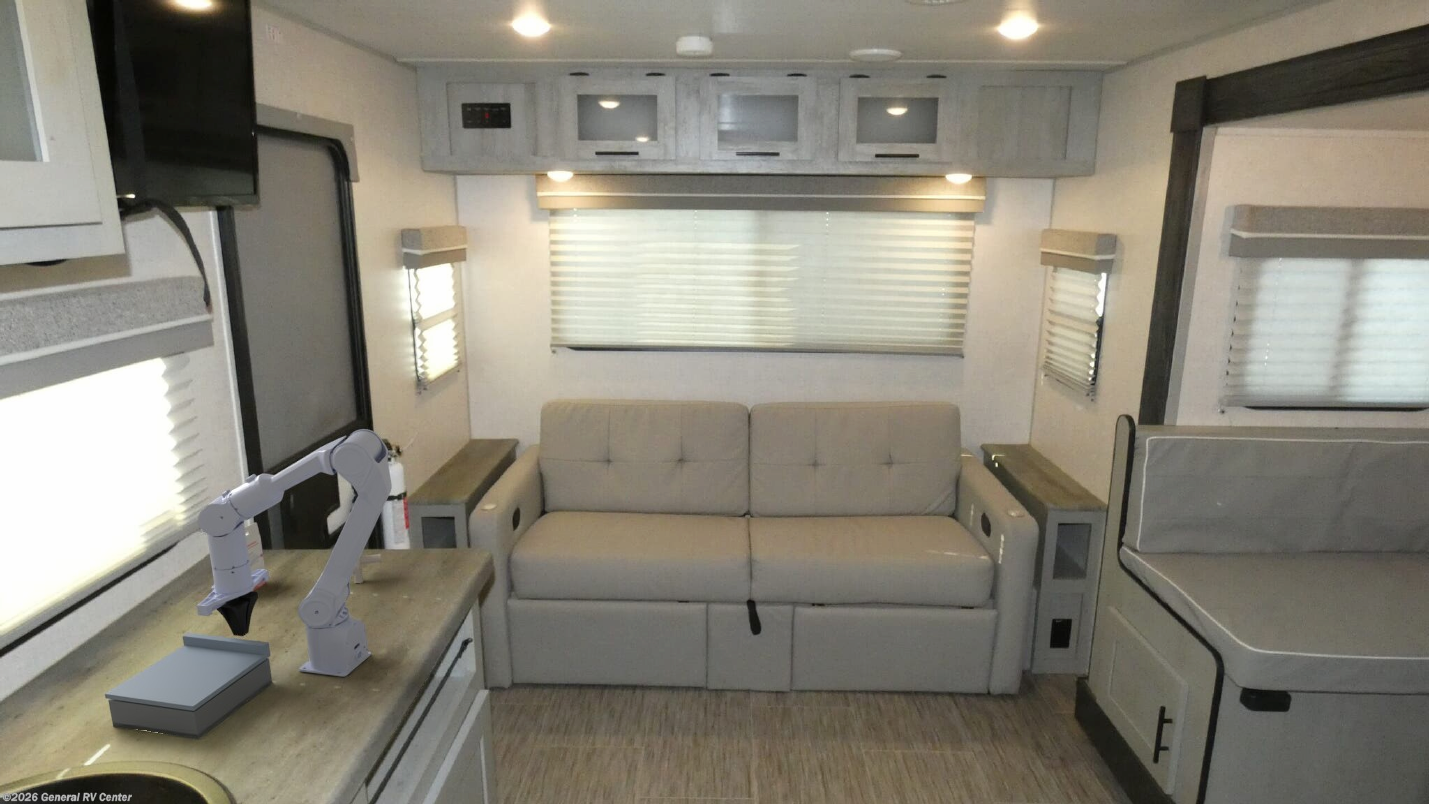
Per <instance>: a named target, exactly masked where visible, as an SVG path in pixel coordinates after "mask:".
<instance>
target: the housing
mask: <svg viewBox="0 0 1429 804" xmlns="http://www.w3.org/2000/svg"><path fill="white" fill-rule="evenodd" d="M272 678H273V677H272V671H271V663H270V657H268V658H267V659H266V660H264V661H263V662H261V663H260V664H259V665H257V666H256V667H254V668H253V669H252V670H250V671H249V672H247V673H246V674H245V675H243V676H242V677H240V678H239V679H238V680H236V681H235V682H233V683H232V684H231V685H229V686H228V687H227V688H225V689H224V690H222V691H221V692H220V693H218V694H217V695H215V696H214V697H213V698H211V699H210V700H208V701H207V702H206V703H204V704H203V705H201V706H200V707H199V708H197V709H196V710H194V711H191V710H184V709H177V708H170V707H163V706H156V705H149V704H142V703H135V702H127V701H120V700H113V699H108V700H107V701H108V706H109V712H110V716H111V722H112V723H111V724H112V726H113V727H114V728H121V729H126V728H127V730H132V729H138V730H137V731H139V730H147V731H151V732H150V733H152V732H158V733H157V734H159V733H163V734H162V735H167V736H172V735H173V736H172V737H181V738H186V739H194V740H199V739H201V738H202V737H204V736H206V735H207V734H208V733H209V732H211V730H213V729H214V728H215V727H218V725H219V724H221V723H222V722H224V721H225V720H226V719H228V718H229V717H230V716H231V715H233V714H234V713H235V712H236V711H238V710H240V709H241V708H242V707H243V706H244V705H246V704H247V703H249V702H250V701H251V700H253V698H255V697H257V696H258V695H259V694H260V693H261V692H262V691H264V690H265V689H267V688H268V687H270V686H271V685H272V684H273V679H272Z"/></svg>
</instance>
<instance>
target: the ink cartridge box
mask: <svg viewBox="0 0 1429 804" xmlns="http://www.w3.org/2000/svg"><path fill="white" fill-rule="evenodd" d="M259 530H260V529H259V527H258V523H257V522H253V523H251V524H249V525H246V526H245V533H246V539H247V546H248V553H249V560H250V568H251V573H252V572H254V571H256V570H258V569H264V570H266V568H265V567H266V565H265V559H264V554H263V546H262V539H261V534H260V531H259ZM267 581H268V580H267ZM267 581H265V582H263V581H262V582H261V583H259V584H257V585H256V586H255V588H254V589H253V590H252V591H253V592H255V591H256V590H257V589H260V588H261V587H263V586H264V585H266V584H267V583H268V582H267Z"/></svg>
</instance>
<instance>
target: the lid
mask: <svg viewBox="0 0 1429 804" xmlns="http://www.w3.org/2000/svg"><path fill="white" fill-rule="evenodd" d="M182 642H183V645H182V646H181V647H178V648H177V649H175V650H174V651H172V652H171V653H168V654H166V656H164V657H163V658H160V659H159V660H157V661H156V662H154V663H152V664H151V665H150V666H148V667H146V668H144V669H142V670H141V671H139V672H138V673H136V674H134V676H133V675H132V677H131V676H130V678H128V679H126V680H125V681H123V682H121V683H120V684H118V685H117V686H115V687H114V688H112V689H110V690H109V691H107V692H105V693H104V697H105V699H108V700H109V699H113V700H120V701H127V702H135V703H142V704H149V705H156V706H163V707H170V708H177V709H184V710H191V711H194V710H196V709H197V708H199V707H200V706H201V705H203V704H204V703H206V702H207V701H208V700H210V699H211V698H213V697H214V696H215V695H217V694H218V693H220V692H221V691H222V690H224V689H225V688H227V687H228V686H229V685H231V684H232V683H233V682H235V681H236V680H238V679H239V678H240V677H242V676H243V675H245V674H246V673H247V672H249V671H250V670H252V669H253V668H254V667H256V666H257V665H259V664H260V663H261V662H263V661H264V660H266V659H267V658H270V657H271V650H270V643H269V642H268V641H261V640H253V639H246V638H245V639H243V638H234V637H226V636H218V635H210V634H203V633H202V634H201V633H195V632H187V633H185V634H183V635H182Z"/></svg>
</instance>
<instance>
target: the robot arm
mask: <svg viewBox="0 0 1429 804" xmlns="http://www.w3.org/2000/svg"><path fill="white" fill-rule="evenodd" d="M346 438H347V439H346ZM388 457H389V448H388V447H387V446H386V444H385V443H384V441H383V439H382V437H380V435H379V434H378V433H377V432H375V431H373V430H370V429H367V428H366V429H365V428H362V429H358V430H357V429H356V430H355V431H353V432H352V433H350V434H349V436H347V435H344V436H341V437H339V438H337V439H335V440H333V441H330V442H329V443H326V444H325V445H323V446H320V447H319V448H317V449H315V450H314V451H312V452H310V453H309V454H307V455H306V456H303V458H301V459H299V460H298V461H296V462H294V463H292V464H290V465H289V466H288V467H286V468H284V469H282V470H281V471H279V472H277V473H276V474H269V473H261V474H259V475H256V474H255V473H253V474H252V475H250V476H248V477H246V478H245V483H243V484H241V485H239V486H237V487H236V488H234V489H232V490H230V489H226V490H224V491H223V492H222V493H221V495H220V496H218V497H216V498H215V499H214V500H213V501H211V502H210V503H209V504H207V505H206V506H205V507H204V508H203V509H201V511H200V512H199V513H198V517H197V523H198V525H199V527H200V530H202V531H203V532H204V533H205V534H206V536H207V537H206V539H207V544H208V552H209V558H210V559H209V560H210V564H211V565H210V566H211V571H212V576H213V577H212V578H213V585H212V586H211V592H210V593H208V595H207V596H206V597H205V598H204V600H202V601H200V602H199V603H198V604H196V607H197V608H196V609H197V614H198V616H203V617H210V616H211V615H213V612H214V611H216V610H217V612H218V613H220V615H221V616H222V617H223V619H224V620H225V621H226V623H227V624H228V627H229V628H230V631H231V633H232V634H233V636H234V637H235V636H236V637H237V636H238V637H244V636H246V635H247V634H249V630H250V625H251V618H252V615H253V610H254V607H255V604H256V603H257V600H258V599H259V593H258V591H252V590H253V589H254V588H255V586H256V585H257V584H259V583H261V582H262V581H263V582H265V581H269V580H270V572H269V569H265V570H264V569H258V570H256V571H254V572H252V573H251V568H250V560H249V553H248V546H247V539H246V534H247V532H246V533H245V527H246V526H245V521H248V520H250V519H252V518H254V517H255V516H257V515H259V514H261V513H263V512H265V511H266V510H268V509H270V508H271V507H273V506H275V505H277V504H278V503H281V501H282V500H283V497H284V493H285V491H287V490H288V489H290V488H292V487H295V486H296V485H298V484H300V483H302V482H304V481H306V480H308V479H310V478H311V477H314V476H315V475H317V474H319V473H324V474H327V475H330V476H334V475H335V474H336V473H337V474H338V475H340V476H341V477H342V478H343V479H345V481H346V482H347V483H349V484H350V485H351V486H352V487H353V489H354V490H355V491H356V493H357V497H356V499H355V502H354V504H353V506H352V509H351V511H350V513H349V514H348V516H347V519H346V521H345V524H344V525H343V528H342V530H341V531H340V534H339V536H338V538H337V539H336V540H337V541H336V543H335V545H334V547H333V549H332V551H331V553H330V556H329V558H328V560H327V562H326V564H325V566H324V569H323V571H322V573H321V575H320V576H319V577H318V579H317V581H316V582H315V584H314V585H313V587H312V589H311V590H310V591H309V593H308V594H307V595H306V596H305V597H304V598H303V599H302V600H301V602H300V603H299V605H298V608H297V609H298V610H297V613H298V618H299V619H300V620H301V622H302V623H304V624H305V632H306V640H307V641H306V642H307V649H308V657H309V660H308V661H306V662H305V663H304V664H302V665H301V666H300V667H299V668H298V670H299V672H305V673H311V674H319V675H325V676H326V675H327V676H328V675H329V676H335V677H343V678H344V677H347V676H348V675H349V674H350V673H352V672H354V670H355V669H356V668H358V666H360V665H361V664H362V663H363V662H364V661H365V660H366V659H368V658H369V657H370V656H371V655H372V652H371V651H369V648H368V646H369V645H368V638H367V636H368V635H367V628H366V624H365V623H364V622H363V621H362V620H361V619H357V618H355V617H353V616H352V615H350V611H349V609H348V607H347V606H348V605H347V604H346V601H347V600H348V599H349V597H350V596H351V581H352V578H353V577H354V574H353V571H354V569H355V567H356V565H357V562H358V560H359V558H360V556H361V554H362V552H364V549H365V547H366V545H367V543H368V541H369V539H370V537H371V535H372V533H373V531H374V528H375V527H376V523H377V521H378V519H379V517H380V515H381V513H382V511H383V509H384V506H385V505H386V503H387V500H388V498H389V496H390V494H391V492H392V487H393V486H392V479H391V474H390V466H389V459H388Z"/></svg>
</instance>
